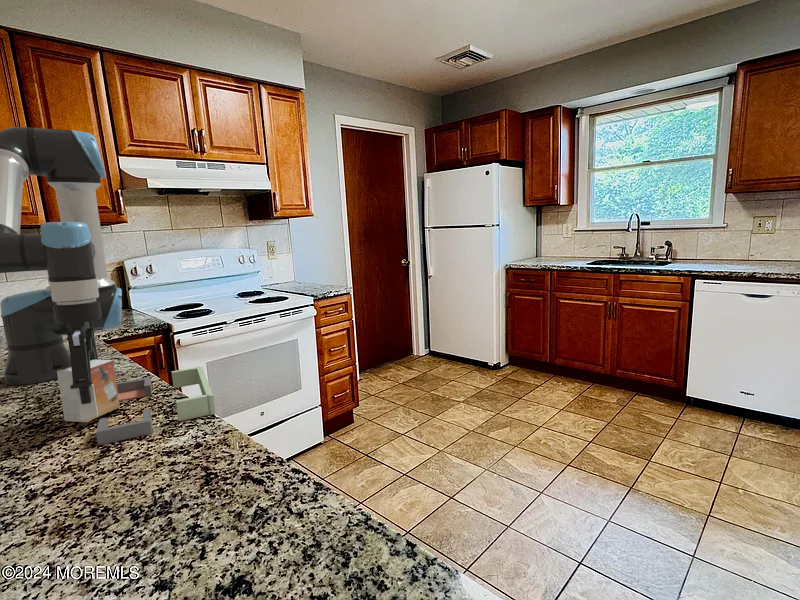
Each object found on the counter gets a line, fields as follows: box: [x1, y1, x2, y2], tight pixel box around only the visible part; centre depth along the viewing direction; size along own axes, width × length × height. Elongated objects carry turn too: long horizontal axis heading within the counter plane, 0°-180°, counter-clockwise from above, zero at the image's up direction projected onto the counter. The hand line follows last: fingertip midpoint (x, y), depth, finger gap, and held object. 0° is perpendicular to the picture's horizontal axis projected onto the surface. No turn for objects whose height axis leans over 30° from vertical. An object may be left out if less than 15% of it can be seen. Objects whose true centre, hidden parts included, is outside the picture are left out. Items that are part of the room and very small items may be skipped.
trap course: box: [95, 366, 216, 446], centre depth 95 cm, size 30×20×4 cm
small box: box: [57, 359, 120, 423], centre depth 89 cm, size 8×6×10 cm
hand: (92, 408), depth 89 cm, fingers closed on small box, 9 cm apart
